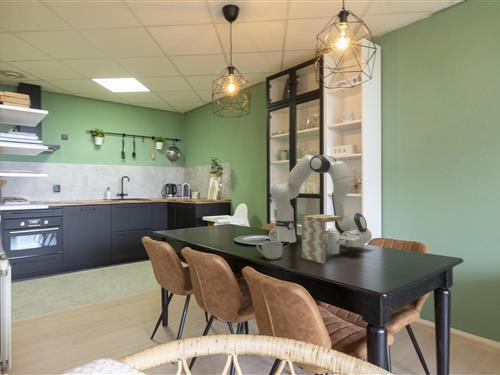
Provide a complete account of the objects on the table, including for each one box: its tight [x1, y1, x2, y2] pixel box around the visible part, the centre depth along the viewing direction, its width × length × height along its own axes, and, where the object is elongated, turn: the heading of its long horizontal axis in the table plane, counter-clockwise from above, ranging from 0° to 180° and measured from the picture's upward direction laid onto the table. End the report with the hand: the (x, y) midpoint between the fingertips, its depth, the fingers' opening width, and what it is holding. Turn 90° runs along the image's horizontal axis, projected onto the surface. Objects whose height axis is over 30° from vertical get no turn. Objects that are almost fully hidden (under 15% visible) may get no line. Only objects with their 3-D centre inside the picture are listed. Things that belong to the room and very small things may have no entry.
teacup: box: [256, 240, 284, 261], centre depth 161 cm, size 14×11×8 cm
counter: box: [301, 213, 342, 265], centre depth 158 cm, size 15×14×22 cm
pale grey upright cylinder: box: [327, 230, 340, 255], centre depth 163 cm, size 6×6×11 cm
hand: (332, 241), depth 162 cm, fingers closed on pale grey upright cylinder, 6 cm apart
